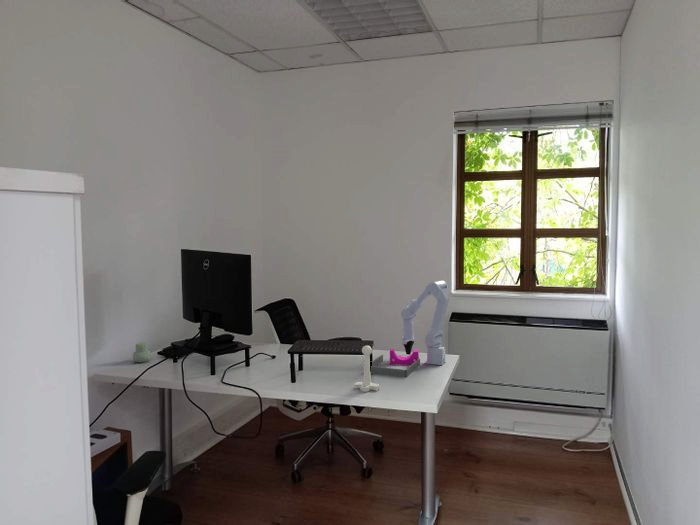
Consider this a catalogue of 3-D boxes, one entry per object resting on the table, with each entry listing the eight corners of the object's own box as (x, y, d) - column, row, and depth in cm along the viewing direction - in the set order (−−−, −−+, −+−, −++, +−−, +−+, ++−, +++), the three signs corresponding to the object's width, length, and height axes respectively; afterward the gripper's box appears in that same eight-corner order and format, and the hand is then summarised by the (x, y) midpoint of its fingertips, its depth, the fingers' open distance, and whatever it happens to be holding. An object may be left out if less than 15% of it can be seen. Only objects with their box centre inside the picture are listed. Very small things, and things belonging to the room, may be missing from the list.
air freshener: (148, 363, 290) (147, 345, 289) (132, 364, 288) (131, 346, 287) (151, 358, 300) (150, 340, 300) (135, 359, 299) (134, 341, 298)
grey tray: (420, 365, 280) (420, 358, 280) (406, 377, 260) (406, 370, 259) (381, 361, 289) (381, 354, 289) (365, 372, 269) (365, 365, 268)
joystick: (380, 388, 244) (380, 345, 242) (375, 393, 236) (375, 349, 235) (357, 386, 247) (356, 343, 246) (351, 391, 240) (351, 347, 239)
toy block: (418, 362, 286) (418, 349, 286) (418, 365, 280) (418, 351, 279) (390, 361, 289) (390, 348, 288) (389, 364, 283) (389, 351, 282)
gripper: (405, 327, 304) (405, 350, 305) (397, 332, 291) (397, 356, 292) (417, 328, 301) (417, 351, 302) (409, 333, 288) (409, 357, 289)
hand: (408, 354), depth 297 cm, fingers closed
